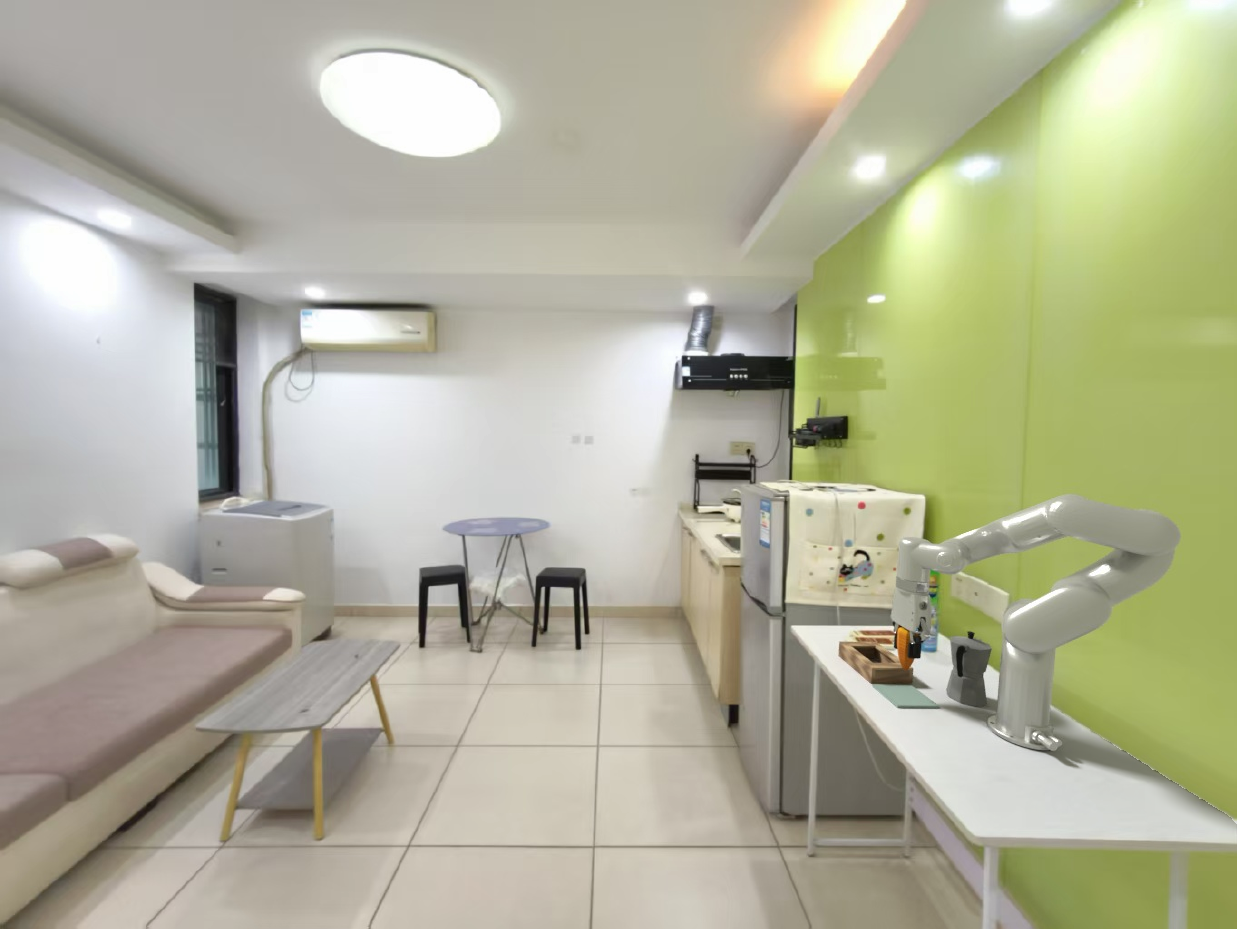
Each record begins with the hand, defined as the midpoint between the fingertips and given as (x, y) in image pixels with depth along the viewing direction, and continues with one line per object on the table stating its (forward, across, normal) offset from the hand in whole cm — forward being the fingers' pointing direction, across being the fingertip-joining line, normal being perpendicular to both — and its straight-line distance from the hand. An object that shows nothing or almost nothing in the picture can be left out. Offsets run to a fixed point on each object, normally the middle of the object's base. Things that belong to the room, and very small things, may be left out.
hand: (906, 652), depth 132 cm
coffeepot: (+12, -1, -16) cm, 20 cm away
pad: (+12, 0, 0) cm, 12 cm away
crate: (+12, +16, -1) cm, 20 cm away
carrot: (+5, 0, 0) cm, 5 cm away
